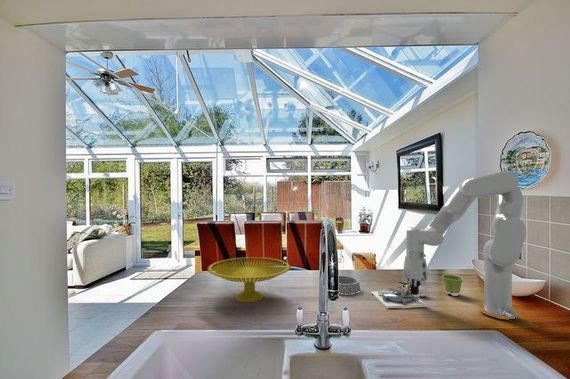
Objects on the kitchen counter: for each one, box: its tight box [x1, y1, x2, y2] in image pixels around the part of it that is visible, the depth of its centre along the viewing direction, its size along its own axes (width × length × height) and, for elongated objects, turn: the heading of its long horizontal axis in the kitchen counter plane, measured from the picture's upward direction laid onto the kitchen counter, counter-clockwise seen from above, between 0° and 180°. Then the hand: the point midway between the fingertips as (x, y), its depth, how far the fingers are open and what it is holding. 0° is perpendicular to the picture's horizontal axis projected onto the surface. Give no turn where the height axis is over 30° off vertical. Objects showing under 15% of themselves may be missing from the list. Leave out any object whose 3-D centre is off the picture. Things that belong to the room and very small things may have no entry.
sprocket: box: [377, 285, 419, 304], centre depth 143 cm, size 18×17×6 cm
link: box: [419, 285, 427, 295], centre depth 149 cm, size 4×4×4 cm
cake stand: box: [207, 256, 292, 303], centre depth 147 cm, size 40×40×15 cm
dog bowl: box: [338, 275, 361, 294], centre depth 159 cm, size 17×18×5 cm
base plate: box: [370, 290, 428, 308], centre depth 143 cm, size 19×19×1 cm
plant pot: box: [441, 274, 464, 293], centre depth 151 cm, size 9×9×9 cm
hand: (414, 294), depth 139 cm, fingers closed
